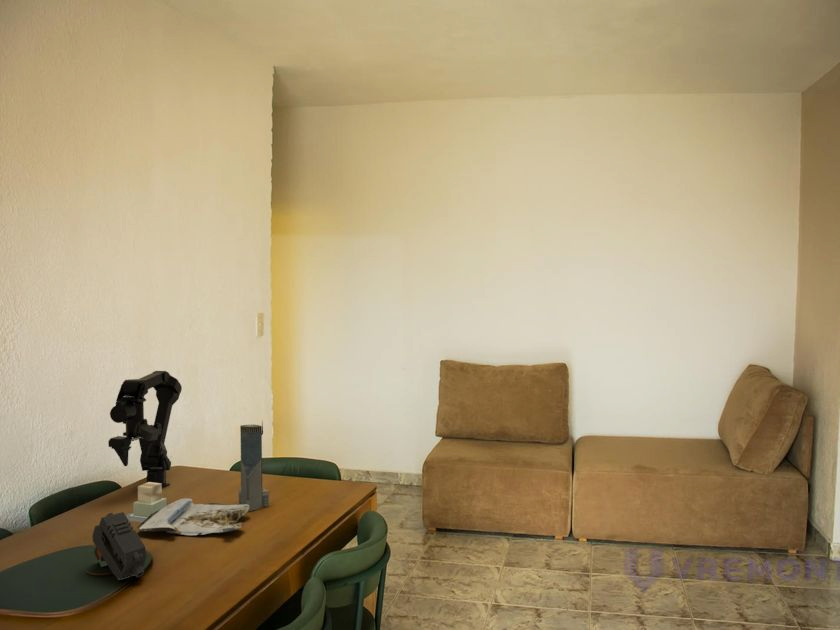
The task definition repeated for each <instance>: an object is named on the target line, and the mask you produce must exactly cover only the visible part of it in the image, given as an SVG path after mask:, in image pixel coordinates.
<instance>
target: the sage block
mask: <svg viewBox="0 0 840 630" xmlns="http://www.w3.org/2000/svg"><path fill="white" fill-rule="evenodd" d="M167 500H168V499H167V497H162V499H161V500H158V501H156V502H154V503H152V504H150V503H142V502H138V500H136V501H134V502H133V503H132V504H133V505H132V506H133V508H132V509H133V511H132V512H133V514H134V515H136V516H143V517H149V516H150V515H151V514H152V513H154V512H156V511H158V510H160V509H162V508H164V507H166V506H167V505H168V503H167V502H168V501H167Z"/></svg>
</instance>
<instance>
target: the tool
mask: <svg viewBox="0 0 840 630" xmlns="http://www.w3.org/2000/svg"><path fill="white" fill-rule="evenodd" d="M126 515H127V514H125V512H124V511H123V512H122V511H121V512H118V513H115V514H114V513H113V512H109V513H107V514H106V516H102V517H100V521H99V524H98V525H95V526H94V529H93V532H92V542H93V544H94V545H95V548H94V550H93V554H94V556H95V558H96V559H98V560H99V559H100V560H101V562H102V561H106V563H107V565H108V566H107V567H108V568H109V569H110V571H111V573H112V574H113V576H114V575H115V576H117V577H118V578H120V579H122V578H125V577H128V576H131V575H133V574H135V575H136V576H135V577H136V578H140V577H142V576H143V575H144V573H145V571H144V569H143V567H144V566H145V564H146V560H147V558H148V557H147V550H146V549H147V548H146V545H145V544H144V543H143V541H142V540H141V538H140V536H139V535H138V532H137V531H136V530H135V529H134V526H133V525H132V523H131V521H129V520H128V518H127V517H126ZM98 560H97V561H98ZM115 576H114V577H115Z"/></svg>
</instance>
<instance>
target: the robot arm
mask: <svg viewBox="0 0 840 630" xmlns="http://www.w3.org/2000/svg"><path fill="white" fill-rule="evenodd" d="M150 389H154V390H155V396H156V399H157V401H158V405H157V409H156V413H155V416H154V417H155V418H154V423H153V424H148V420H147V418H145V416H144V415H145V413H144V412H145V411H144V408H145V407H144V402H146V401H147V398H145V396H146V395H147V394H148V393H149V390H150ZM182 391H183V390H182V384H181V383H180V382H179V380H178V379H177V378H176V377H174V376H172V375H171V374H170V372H169V371H166V370H155V371H152V372H151V373H149V374H147V375H144V376H142V377H140V378H135V379H134V378H133V379H129V378H128V379H125V380H124V381H123V382H122V384H121V386H120V388H119V390H118V394H117V397H116V401H115V406H113V407H111V409H110V412H109V415H110V419H111V420H112V421H113V422H114V423H117V424H120V423H122V424H123V425H125V431H123V432H122V435H121V436H119V435H117V436H114V437H111V438H110V439H108V443H107V444H108V448H111V449H113V450H114V452H115V453H116V454H117V456H118V457H119V460H120V461H121V464H122V465H123V466H124V467H128V465H129V451H130V450H131V449H132V446H131V444H132V442H134V441H138V443H139V447H140V451H141V454H140V457H139V462H140V466H141V470H142V472H143V471H146V483H147V482H153V483H162V489H163V488H165V487H168V486H170V485H171V484H170V483H169V482H167V471H170V470H171V468H172V461H171V460H170V458H169V457H168V450H167V448H166V445H165V442H166V437H167V431H168V427H169V424H170V423H169V422H170V418H171V415H172V414H171V413H172V408H173V406H174V404H176V402H177V401H178V400H179V398H180V395H181V393H182Z"/></svg>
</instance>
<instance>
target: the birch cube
mask: <svg viewBox="0 0 840 630" xmlns="http://www.w3.org/2000/svg"><path fill="white" fill-rule="evenodd" d="M162 489H163V488H162V483H153V482H147V481H146V482H145V483H142V484H140V485H138V486H137V501H138V502H142V503H150V504H152V503H154V502H156V501H158V500H161V499H162V498H163V494H162V493H163V491H162Z"/></svg>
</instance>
